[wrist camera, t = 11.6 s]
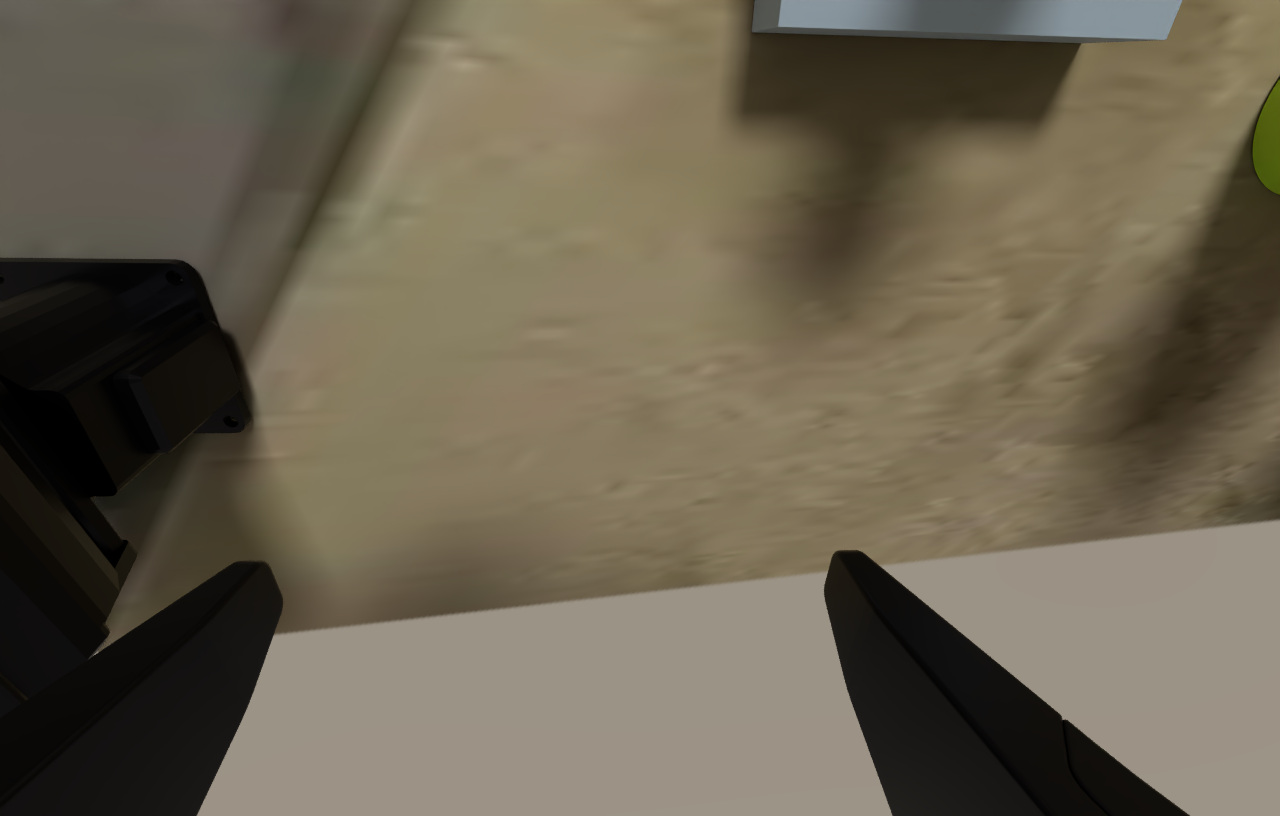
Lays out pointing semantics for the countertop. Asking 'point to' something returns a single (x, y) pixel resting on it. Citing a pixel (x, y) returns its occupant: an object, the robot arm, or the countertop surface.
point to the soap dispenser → (1268, 142)
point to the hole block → (972, 19)
